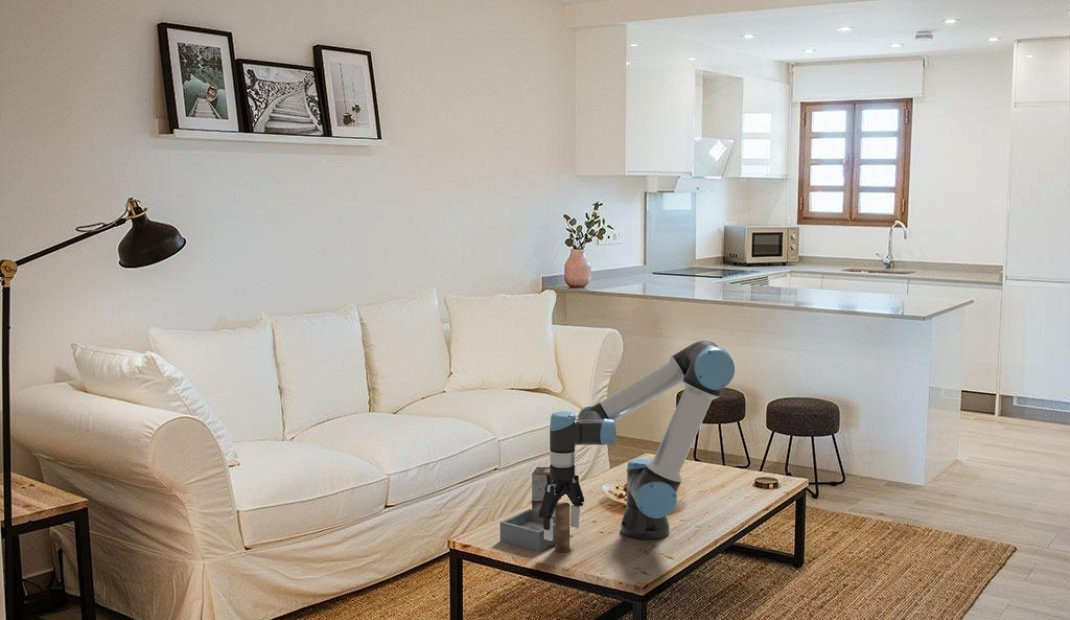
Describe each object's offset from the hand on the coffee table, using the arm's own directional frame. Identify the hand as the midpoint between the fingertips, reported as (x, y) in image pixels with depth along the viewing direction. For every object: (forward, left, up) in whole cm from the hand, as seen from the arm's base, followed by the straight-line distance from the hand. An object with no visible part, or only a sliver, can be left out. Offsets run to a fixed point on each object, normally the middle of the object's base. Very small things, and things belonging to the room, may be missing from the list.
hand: (561, 533), depth 302 cm
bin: (+12, -2, -5) cm, 13 cm away
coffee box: (+21, -19, -5) cm, 29 cm away
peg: (0, 0, -5) cm, 5 cm away
